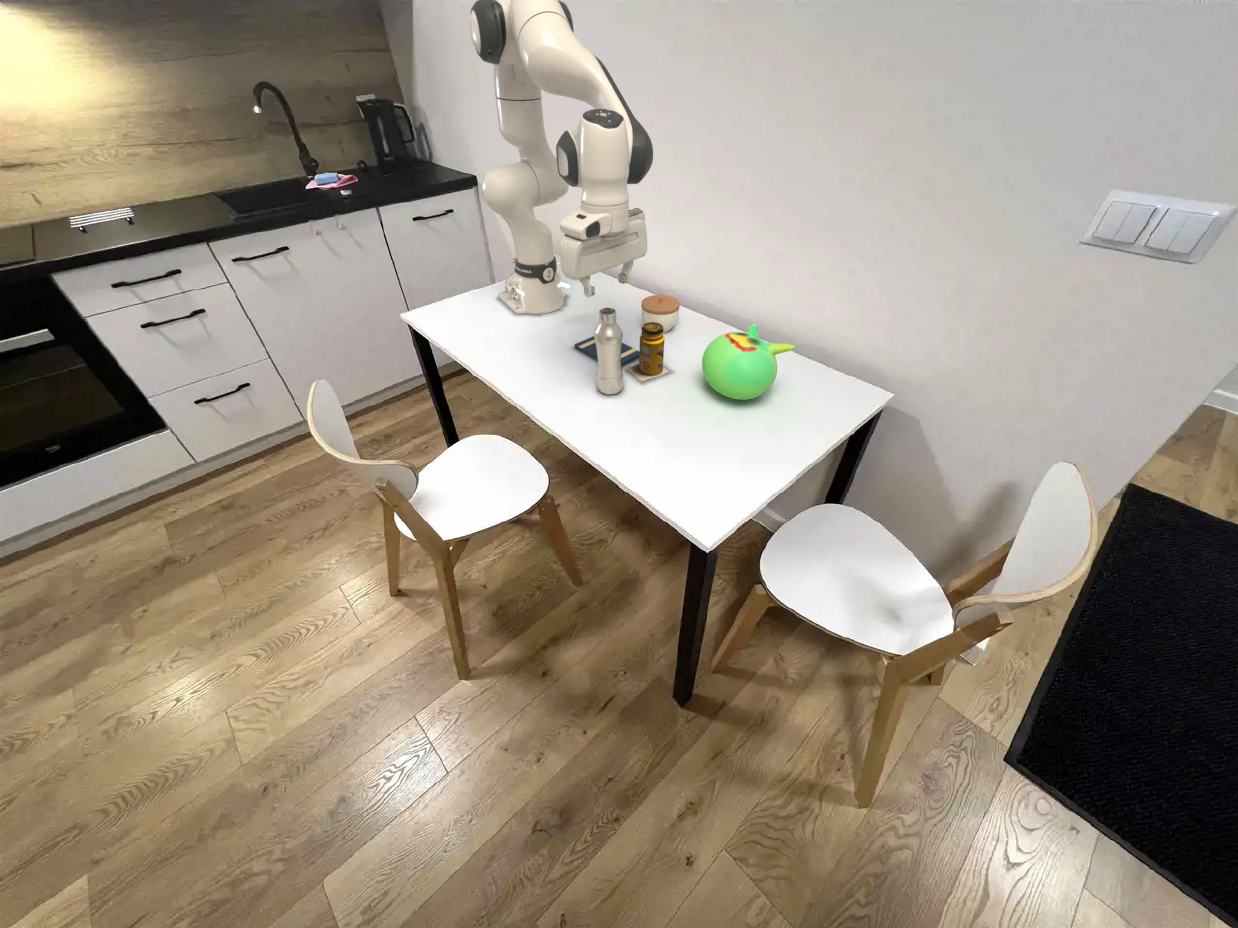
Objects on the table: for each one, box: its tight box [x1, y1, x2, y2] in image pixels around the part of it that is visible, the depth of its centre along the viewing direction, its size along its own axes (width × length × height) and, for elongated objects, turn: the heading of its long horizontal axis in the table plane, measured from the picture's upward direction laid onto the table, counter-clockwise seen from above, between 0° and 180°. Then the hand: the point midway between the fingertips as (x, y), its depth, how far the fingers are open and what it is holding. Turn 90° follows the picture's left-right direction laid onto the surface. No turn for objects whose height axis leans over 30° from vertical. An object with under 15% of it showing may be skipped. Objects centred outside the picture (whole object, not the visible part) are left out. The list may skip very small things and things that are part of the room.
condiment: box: [625, 322, 670, 382], centre depth 121 cm, size 7×8×12 cm
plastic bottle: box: [593, 307, 625, 395], centre depth 112 cm, size 6×7×20 cm
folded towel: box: [574, 335, 640, 368], centre depth 132 cm, size 16×10×1 cm, turn 43°
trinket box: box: [640, 294, 681, 334], centre depth 139 cm, size 11×11×9 cm
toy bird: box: [701, 323, 796, 401], centre depth 113 cm, size 18×17×15 cm
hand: (606, 288), depth 102 cm, fingers open, 8 cm apart
